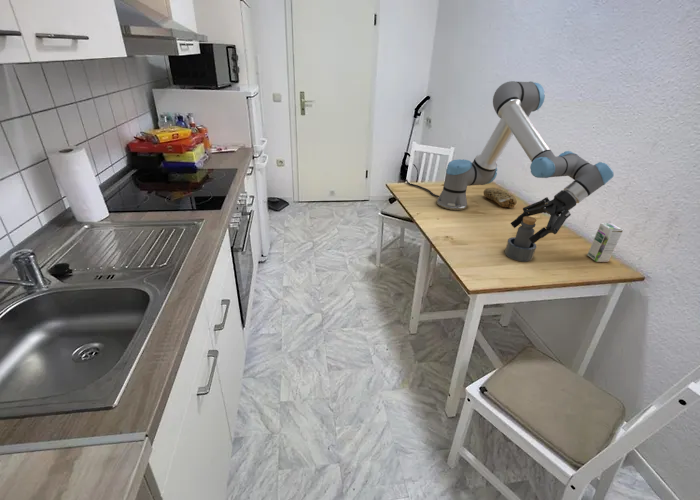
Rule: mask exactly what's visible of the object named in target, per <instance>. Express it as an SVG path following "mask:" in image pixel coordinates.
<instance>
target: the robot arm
mask: <svg viewBox="0 0 700 500" xmlns="http://www.w3.org/2000/svg"><path fill="white" fill-rule="evenodd" d="M545 96H546V95H545V88H544V87H543V85H541V84H540V83H539V82H534V81H515V80H509V81H506V82H504V83H501V84H500V86H498V87H497V89H496V90H495V92H494V94H493V96H492V106H493V109H494V112H495V113H496V115H497V116H498V118H499V119H500V120H499V121H498V123H497V124H496V126H495V128H494V130H493V131H492V134H491V135H490V136H489V139H488V140H487V143H486V144H485V146H484V148H483V149H482V151H481V153H480V154H477V155H476V156H475V157H474V159H473V161H471V160H468V159H465V158H464V159H459V158H458V159H453V160H451V161H449V162H448V163H447V166H446V169H445V176H444V182H443V187H442V190H441V193H440V195H438V194H435V193H433V192H432V191H431V190H430V189H428V188H426V187H423V186H421V185H418V184H414V183H411V182H409V181H408V179H407V178H406V179H404V181H403V182H406V183H407V184H408V185H409V186H412V187H416V188H419V189H422V190H424V191H426V192H428V193H429V194H430V195H431V196H433V197H437V201H436V205H437V206H438V207H440V208H443V209H444V210H449V211H463V210H466V209H467V208H468V207H467V206H468V199H467V190H468V187H471V186H484V185H488V184H491V183H493V182H494V181H495V179H496V178H497V175H498V163H497V161H498V160H499V158H500V157H501V156H502V155H503V152H504V150H505V149H506V147H507V145H508V144H509V142H510V141H511V139H512V137H513V136H514V137H515V139H516V140H517V142H518V143H519V145H520V146H521V148H522V150H523V151H524V153H525V155H527V157H528V159H529V160H530V162H531V163H530V165H529V169H530V173H531V175H532V176H533V177H535V178H537V179H549V178H557V177H569V178H571V179H572V180H573V181H572V182H571V183H569V184H567V185H566V186H565V187H564V188H563V189H562V190H560V191H559V192H557V193H556V194H555V195H554V196H553V198H552V199H550V198H549V197H547V196H546V197H544V198H543V199H541V200H539V201H536V202H533V203H531V204H529V205H527V206H525V207H523V208H522V211H523V212H522V213H521V214H519V215H518V216H517V217H516V218H515V219H514V220H512V221H511V222H510V225H511V226H512V227H513V229H516V228H518V227H519V226H521V221H523V217H525V216H529V217H532V216H536V215H539V214H547V215H549V216H550V217H549V220H548V222H547V224H546V226H544V227H542V228H541V229H539V230H538V231H537V232H534V235H533V236H531V237H530V238H529V239H530V241H531V242H532V243H533V244H534V243H535V244H536V243H537V242H538V241H539V240H540V239H543V238H545V237H546V236H548V235H549V234H553V235H556V234H558V232H559V231H560V229H561V228H562V226H563V225H564V223H565V222H566V220H567V219H568V218H569V217H570V216H571V212H570V210H572V209H573V208H575V207H576V206H577V204H580V203H581V202H583V201H584V200H585V199H586V198H588V197H589V196H590V195H592V194H593V193H595V192H596V191H597V190H599V189H600V188H602V187H603V186H605V185H606V184H607V183H608V182H609V181H610V180H612V179H613V178H614V170H613V169H612V167H611V166H609V165H608V164H607V163H606V162H602V161H599V162H597V163H595V164H592V163H590V162H588V161H587V160H585V159H584V158H582V157H581V156H580V155H578V154H577V153H575V152H573V151H570V150H566V151H564V152H561V153H560V154H559V155H558V156H557V155H555V154H554V152H553V151H552V150H551V148H550V146H548V144H547V143H546V141H545V139H544V138H543V137H542V135H541V134H540V132H539V131H538V129H537V128H536V126H535V125H534V124H533V122H532V120H531V119H530V118H529V117H530V115H531V113H532V112H536V111H539V110H540V109H541V108H542V106H543V104H544V102H545V98H546V97H545ZM410 183H411V184H410Z"/></svg>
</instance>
